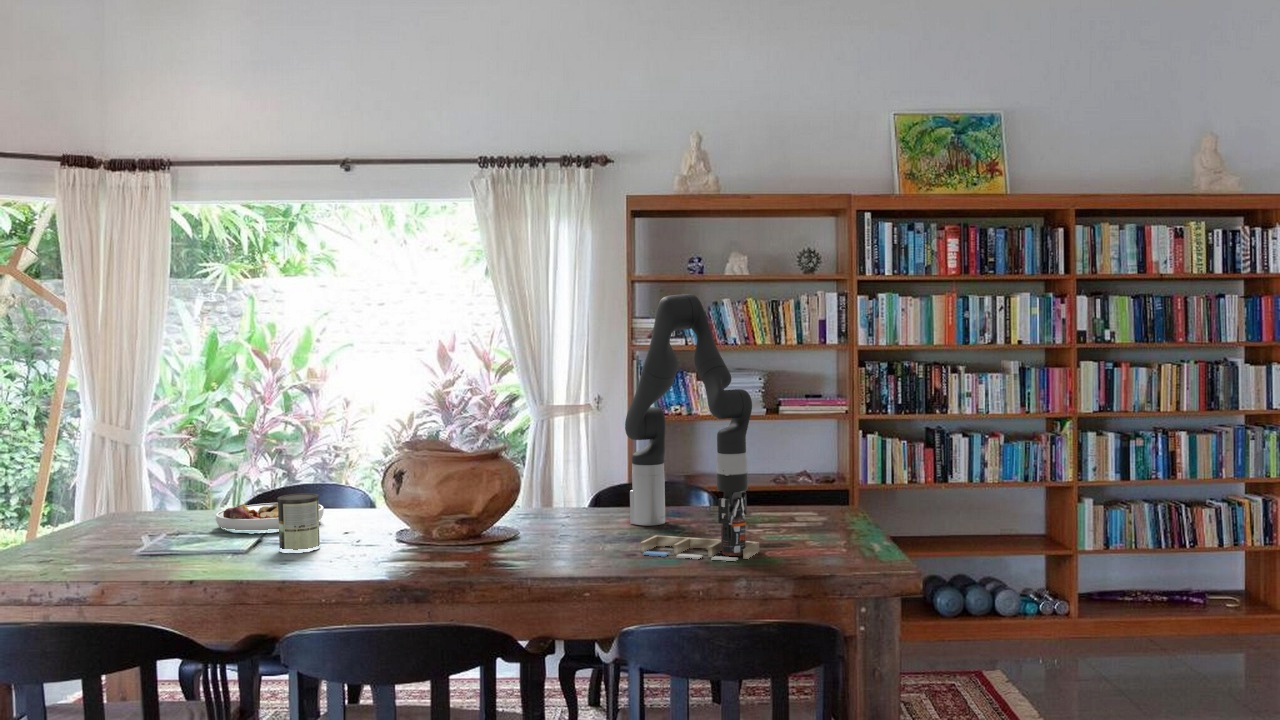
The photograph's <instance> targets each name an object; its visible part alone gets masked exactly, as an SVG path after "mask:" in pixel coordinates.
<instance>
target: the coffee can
mask: <svg viewBox="0 0 1280 720" xmlns="http://www.w3.org/2000/svg"><path fill="white" fill-rule="evenodd" d="M319 496H320V495H319V494H318V493H307V492H306V493H302V492H301V493H292V494H285V495H281V496H278V497H277V503H278V516H279V533H278V537H279V538H278V539H279V549H280V548H282V549H293V550H298V549H308V548H313V547H316V546H319V545H320V546H321V543H320V541H321V540H320V521H319V507H318V504H319V498H320V497H319Z"/></svg>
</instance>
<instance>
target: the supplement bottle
mask: <svg viewBox="0 0 1280 720" xmlns="http://www.w3.org/2000/svg"><path fill="white" fill-rule="evenodd" d="M725 519H726V518H725ZM720 537H721V538H720V540H721V551H722V552H721V554H722V555H723V556H724V555H725V556H724V557H729V556H739V557H743V549H744V548H746V546H745V545H746V543H745V542H746V541H747V540H746V519H745V518H742V516H741V509H737V511H736V516H735V517H734V518H733V521H732V540H731V541H724V540H723V526H722V525H721V524H720Z"/></svg>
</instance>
